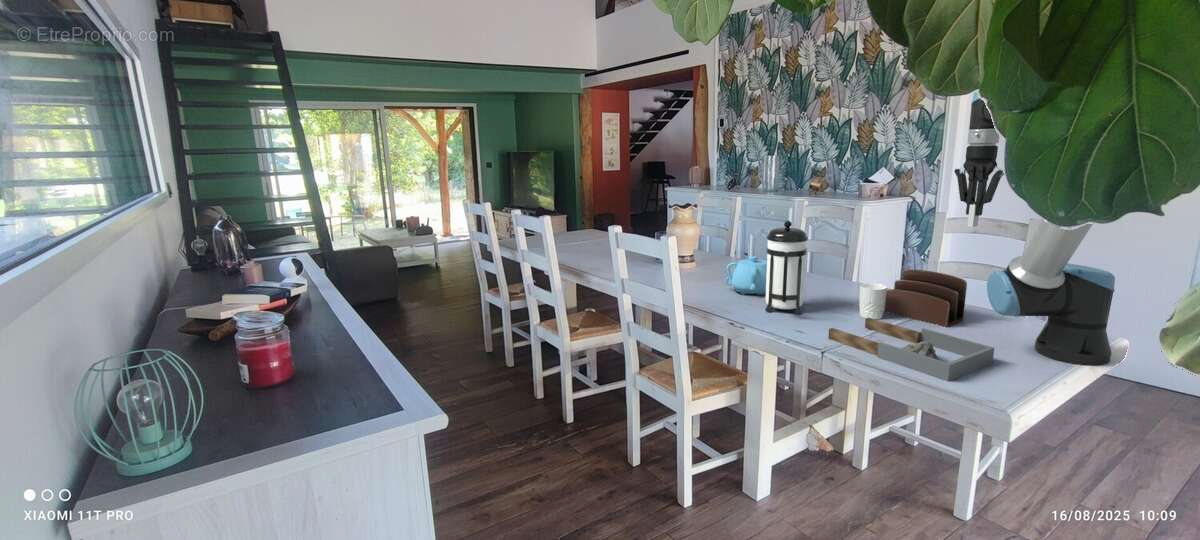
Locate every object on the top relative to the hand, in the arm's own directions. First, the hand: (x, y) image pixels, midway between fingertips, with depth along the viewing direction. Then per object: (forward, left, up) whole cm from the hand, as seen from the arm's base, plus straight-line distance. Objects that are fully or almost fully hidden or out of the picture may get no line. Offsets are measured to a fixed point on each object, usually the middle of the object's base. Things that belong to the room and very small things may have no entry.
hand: (972, 226), depth 166 cm
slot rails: (+4, +37, -29) cm, 47 cm away
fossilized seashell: (-11, +41, -30) cm, 52 cm away
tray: (-13, +37, -29) cm, 49 cm away
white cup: (+18, +18, -30) cm, 39 cm away
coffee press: (+38, +35, -30) cm, 60 cm away
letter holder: (+9, +5, -30) cm, 32 cm away
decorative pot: (+61, +27, -30) cm, 73 cm away
